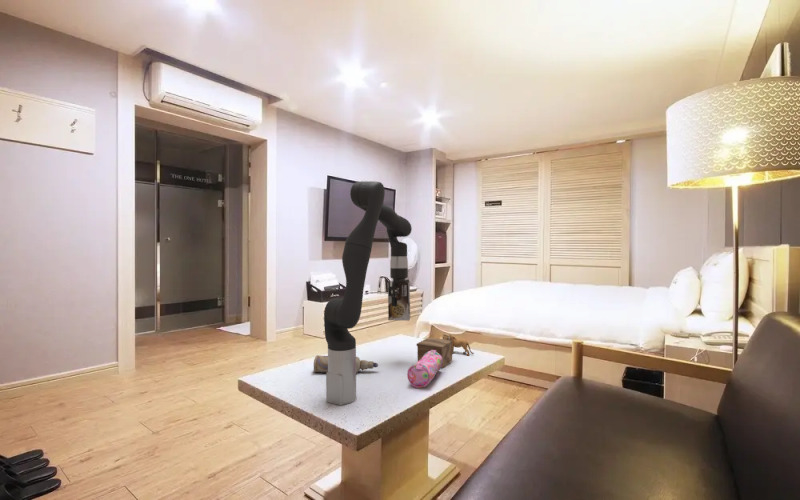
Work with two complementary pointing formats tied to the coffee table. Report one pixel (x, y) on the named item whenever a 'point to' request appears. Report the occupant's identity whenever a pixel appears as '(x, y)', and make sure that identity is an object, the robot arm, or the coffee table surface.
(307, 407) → the coffee table surface
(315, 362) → the decorative bottle
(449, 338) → the lion figurine
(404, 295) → the coffee box
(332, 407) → the coffee table surface
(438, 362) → the pencil case
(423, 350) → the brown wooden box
